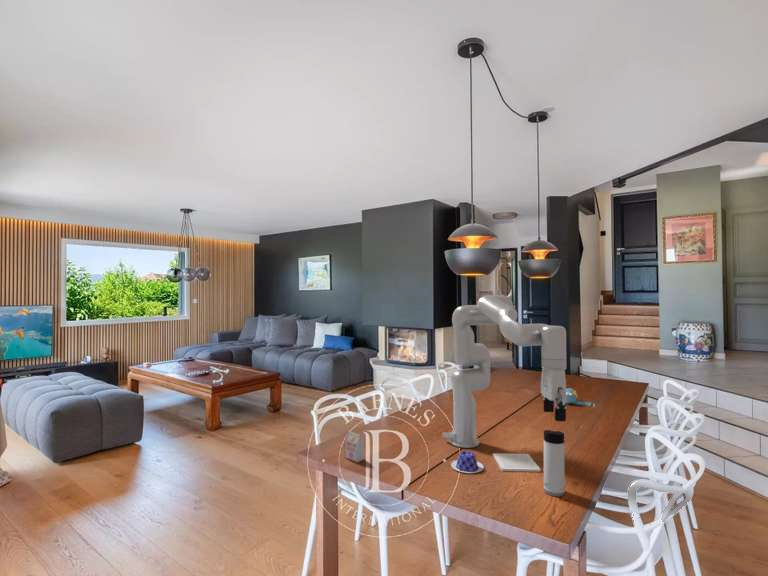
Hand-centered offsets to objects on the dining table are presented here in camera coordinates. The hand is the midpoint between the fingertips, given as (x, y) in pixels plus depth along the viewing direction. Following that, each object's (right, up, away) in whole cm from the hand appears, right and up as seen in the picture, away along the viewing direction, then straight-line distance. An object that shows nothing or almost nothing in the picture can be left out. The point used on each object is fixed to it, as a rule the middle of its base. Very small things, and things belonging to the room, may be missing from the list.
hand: (554, 416), depth 131 cm
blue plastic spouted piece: (+54, -27, +107) cm, 123 cm away
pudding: (-25, -25, +19) cm, 40 cm away
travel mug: (0, -25, 0) cm, 25 cm away
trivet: (-5, -25, +22) cm, 34 cm away
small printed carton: (-67, -25, +26) cm, 76 cm away
